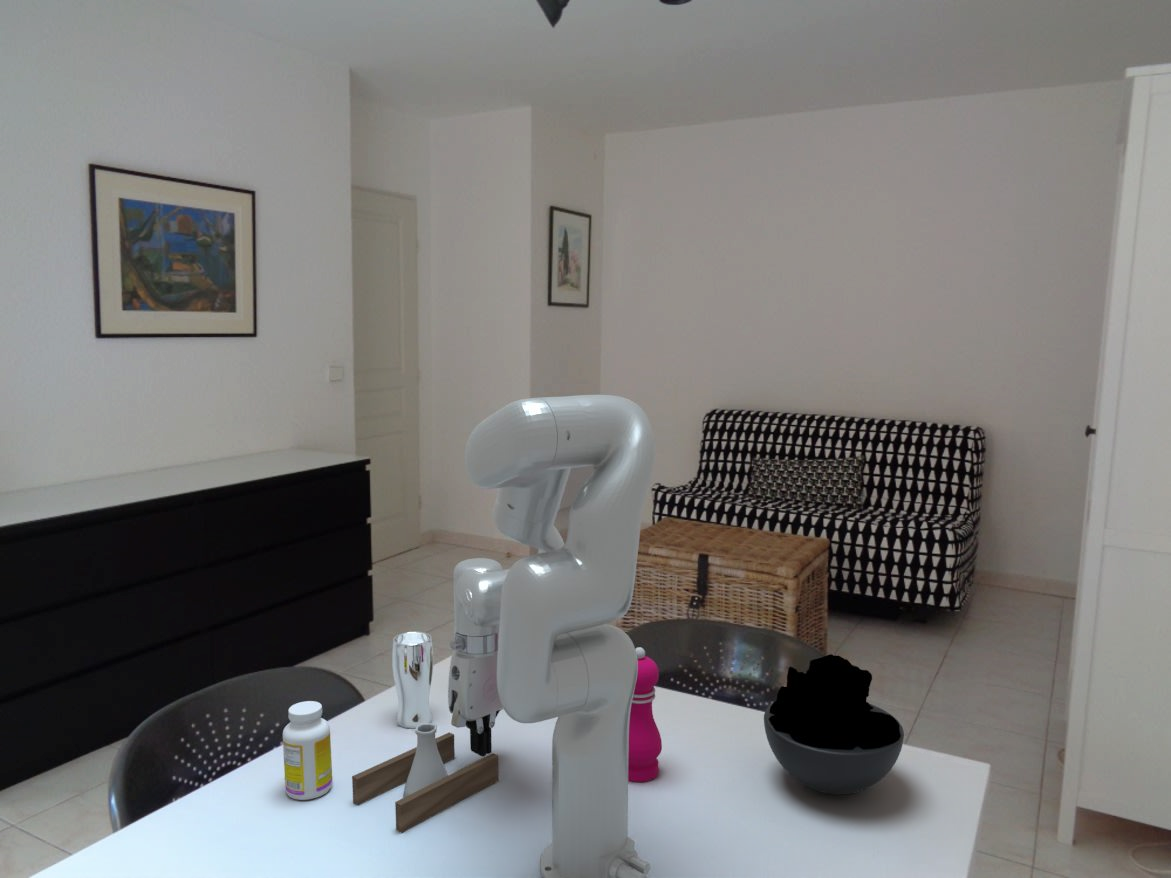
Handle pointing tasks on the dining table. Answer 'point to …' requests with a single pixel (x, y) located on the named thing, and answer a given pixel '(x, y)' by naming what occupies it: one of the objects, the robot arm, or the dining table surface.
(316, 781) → the supplement bottle
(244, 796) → the dining table surface
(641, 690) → the pepper mill
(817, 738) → the bowl of black rocks
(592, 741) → the robot arm
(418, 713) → the beer glass
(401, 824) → the chute
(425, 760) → the flask
